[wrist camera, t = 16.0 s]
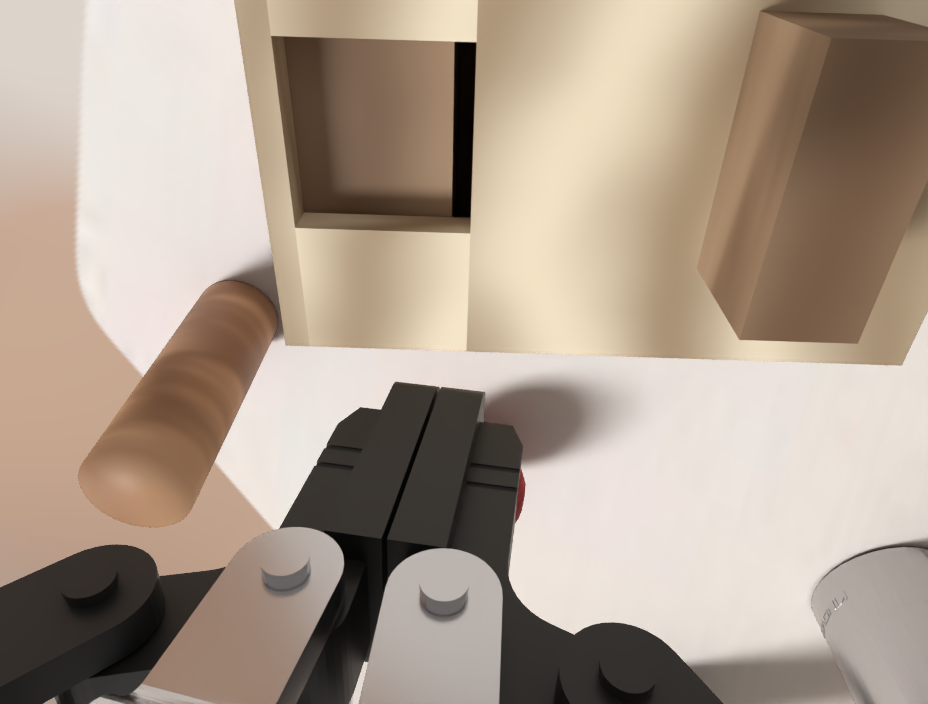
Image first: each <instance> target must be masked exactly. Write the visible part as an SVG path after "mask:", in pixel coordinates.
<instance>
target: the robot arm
mask: <svg viewBox="0 0 928 704" xmlns="http://www.w3.org/2000/svg"><path fill="white" fill-rule="evenodd" d="M484 412H485V392H480V391H471V390H463V389H454V388H446V387H441V389H440V388H439V387H436V386H427V385H419V384H410V383H402V382H395V383H394V384H393V386H392V388H391V390H390V393H389V395H388V397H387V399H386V401H385V403H384V405H383V407H382V409H381V410H378V409H370V408H361V407H360V408H359V409H358V410H356V411H355V412H353V413H352V414H351V415H349V416H348V417H347V418H345V419H344V420H343V421H341V422H340V423H338V425H337V427H336V429H335V430H334V432H333V434H332V436H331V437H330V439H329V441H328V443H327V447H326V448H324V450H323V452H322V453H321V455H320V457H319V459H318V461H317V465H316V466H314V468H313V469H312V471H311V473H310V475H309V477H308V478H307V480H306V482H305V484H304V485H303V487H302V489H301V491H300V493H299V494H298V496H297V498H296V500H295V501H294V503H293V505H292V507H291V509H290V510H289V512H288V514H287V516H286V517H285V519H284V521H283V523H282V525H281V526H280V528H279V529H276V530H272V531H270V532H267V533H264V534H262V535H260V536H258V537H256V538H254V539H253V540H251V541H250V542H248V543H247V544H245V545H244V546H243V547H242V548H241V549H240V550H239V551H238V552H237V553H236V554H235V556H234V557H233V558H232V560H231V561H230V562H229V564H228V565H227V567H224V568H220V569H215V570H209V571H201V572H192V573H184V574H175V575H166V576H159V574H158V570H157V566H156V564H155V562H154V560H153V558H152V557H151V556H150V555H149V554H148V553H146V552H145V551H143V550H141V549H139V548H136V547H133V546H128V545H105V546H100V547H94V548H91V549H87V550H84V551H81V552H79V553H76V554H74V555H72V556H69V557H67V558H65V559H63V560H60V561H58V562H56V563H54V564H52V565H49V566H47V567H45V568H43V569H40V570H38V571H36V572H34V573H32V574H29V575H27V576H25V577H23V578H20V579H18V580H16V581H14V582H12V583H9V584H7V585H5V586H3V587H0V704H43V703H44V702H46V701H48V700H50V699H52V698H53V697H55V700H56V702H57V704H353V698H352V696H353V693H354V690H355V687H356V684H357V681H358V677H359V675H360V672H361V669H362V665H363V663H364V661H365V662H368V665H367V670H366V674H365V679H364V683H363V687H362V691H361V696H360V700H359V704H723V703H722V702H721V701H720V700H719V699H718V697H717V696H716V695H715V694H714V693H713V692H712V691H711V690H710V689H709V688H708V687H707V686H706V685H705V684H704V683H703V681H702V680H701V679H700V678H699V677H698V676H697V675H696V674H695V673H694V672H693V671H692V670H691V669H690V668H689V666H688V665H687V664H686V663H685V662H684V661H683V660H682V659H681V658H680V657H679V656H678V655H677V654H676V653H675V652H674V651H673V650H672V649H671V648H670V647H669V646H668V645H667V644H666V643H665V642H663V641H662V640H661V639H659V638H658V637H656V636H655V635H653V634H651V633H649V632H647V631H645V630H643V629H640V628H638V627H635V626H631V625H627V624H622V623H600V624H595V625H592V626H589V627H586V628H584V629H582V630H581V631H579V632H578V633H576V634H575V635H573V634H571V633H569V632H567V631H565V630H563V629H560V628H558V627H556V626H554V625H552V624H550V623H548V622H546V621H544V620H542V619H540V618H539V617H538V616H536V615H535V614H533V613H532V612H531V611H530V610H529V609H527V608H526V607H525V606H524V605H523V604H522V602H521V601H520V600H519V599H518V597H517V596H516V594H515V592H514V591H513V589H512V586H511V584H510V581H509V576H508V574H509V566H510V558H511V550H512V542H513V534H514V526H515V518H516V508H517V499H518V489H519V479H520V470H521V460H522V451H523V446H522V444H521V442H520V440H519V438H518V436H517V434H516V432H515V430H514V428H513V426H510V425H502V424H493V423H485V422H484ZM811 607H812V610H813V613H814V615H815V617H816V619H817V622H818V624H819V626H820V628H821V632H822V634H823V636H824V638H825V639H826V641H827V643H828V645H829V647H830V649H831V652H832V654H833V656H834V658H835V660H836V662H837V665H838V667H839V669H840V672H841V674H842V676H843V678H844V680H845V682H846V684H847V686H848V689H849V691H850V693H851V695H852V697H853V699H854V701H855V703H856V704H928V549H923V548H914V547H899V548H888V549H883V550H879V551H874V552H870V553H867V554H864V555H862V556H859V557H856V558H854V559H852V560H850V561H848V562H846V563H844V564H842V565H840V566H839V567H837V568H836V569H834V570H833V571H831V572H830V573H829V574H828V575H827V576H826V577H825V578H824V579H823V580H822V581H821V582H820V583H819V584H818V586H817V587H816V589H815V590H814V593H813V596H812V599H811Z"/></svg>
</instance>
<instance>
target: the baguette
mask: <svg viewBox="0 0 928 704" xmlns="http://www.w3.org/2000/svg"><path fill="white" fill-rule="evenodd" d="M277 327H278V316H277V312H276V309H275V307H274V305H273V304H272V302H271V301H270V299H269V298H268V297H267V296H266V295H265V294H264V293H263V292H261V291H260V290H258V289H257V288H255V287H253V286H251V285H249V284H246V283H243V282H238V281H222V282H218V283H216V284H213V285H211V286H210V287H208V288H207V289H206V290H205V291H204V292H203V294H202V295H201V296H200V298H199V299H198V301H197V302H196V303H195V305H194V306H193V308H192V309H191V310H190V312H189V313H188V315H187V316H186V318H185V319H184V320H183V322H182V323H181V325H180V326H179V327H178V329H177V330H176V332H175V333H174V334H173V336H172V337H171V339H170V340H169V342H168V343H167V344H166V346H165V347H164V349H163V350H162V351H161V353H160V354H159V356H158V357H157V358H156V360H155V361H154V363H153V364H152V365H151V367H150V368H149V370H148V371H147V373H146V374H145V375H144V377H143V378H142V380H141V381H140V383H139V384H138V385H137V387H136V388H135V390H134V391H133V392H132V394H131V395H130V397H129V398H128V399H127V401H126V402H125V404H124V405H123V406H122V408H121V409H120V411H119V412H118V413H117V415H116V416H115V418H114V419H113V421H112V422H111V423H110V425H109V426H108V428H107V429H106V430H105V432H104V433H103V435H102V436H101V437H100V439H99V440H98V442H97V443H96V445H95V446H94V447H93V449H92V450H91V452H90V453H89V454H88V456H87V457H86V459H85V460H84V461H83V463H82V465H81V467H80V469H79V475H78V478H79V484H80V487H81V489H82V491H83V493H84V494H85V496H86V497H87V499H88V500H89V501H90V502H91V503H92V504H93V505H94V506H95V507H96V508H98V509H99V510H100V511H102V512H103V513H105V514H107V515H108V516H110V517H112V518H114V519H116V520H118V521H121V522H124V523H127V524H130V525H135V526H140V527H149V528H152V527H153V528H154V527H155V528H157V527H165V526H169V525H173V524H175V523H178V522H180V521H181V520H183V519H184V518H185V517H186V516H187V515H188V514H189V513H190V511H191V509H192V507H193V505H194V503H195V501H196V499H197V497H198V495H199V493H200V490H201V488H202V486H203V484H204V482H205V480H206V478H207V476H208V473H209V472H210V469H211V467H212V465H213V463H214V461H215V459H216V457H217V455H218V453H219V451H220V448H221V446H222V444H223V442H224V440H225V438H226V436H227V434H228V432H229V430H230V427H231V425H232V423H233V421H234V419H235V417H236V415H237V413H238V411H239V409H240V406H241V404H242V402H243V400H244V398H245V396H246V394H247V392H248V390H249V388H250V385H251V383H252V381H253V379H254V377H255V375H256V373H257V371H258V369H259V367H260V364H261V362H262V360H263V358H264V356H265V354H266V352H267V350H268V348H269V345H270V343H271V341H272V339H273V337H274V335H275V333H276V331H277Z"/></svg>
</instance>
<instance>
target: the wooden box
mask: <svg viewBox="0 0 928 704" xmlns="http://www.w3.org/2000/svg"><path fill="white" fill-rule="evenodd" d="M284 44H285V53H286V62H287V70H288V79H289V88H290V96H291V105H292V113H293V122H294V131H295V139H296V148H297V157H298V165H299V174H300V183H301V191H302V200H303V209H304V212H305V213H336V214H368V215H399V216H430V217H462V218H471V197H472V166H473V136H474V105H475V75H476V44H477V42H451V41H419V40H386V39H354V38H322V37H289V36H284Z"/></svg>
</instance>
